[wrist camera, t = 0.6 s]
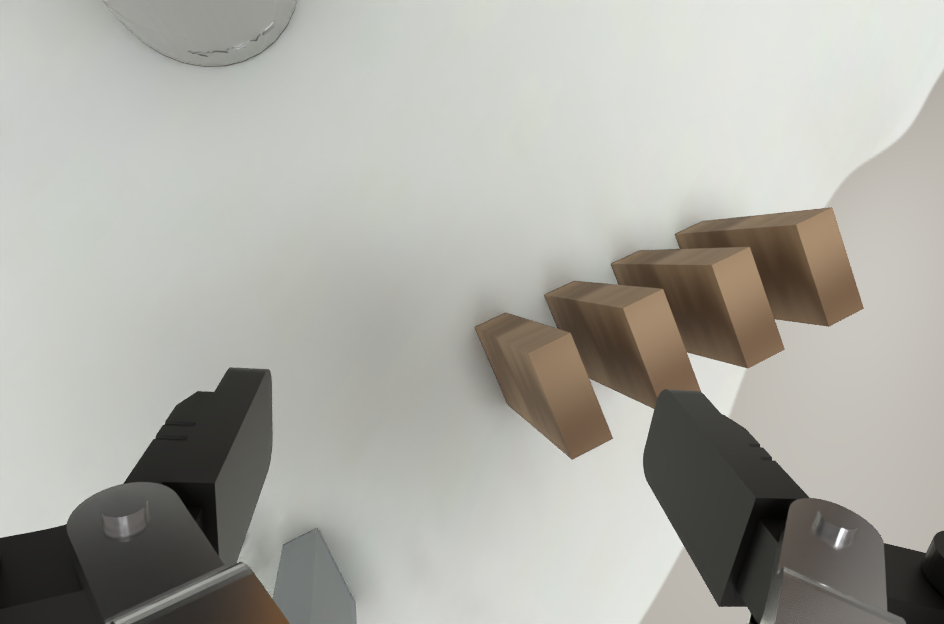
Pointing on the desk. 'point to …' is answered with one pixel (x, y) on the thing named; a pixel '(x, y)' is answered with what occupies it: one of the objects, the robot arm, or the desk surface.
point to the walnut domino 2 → (624, 338)
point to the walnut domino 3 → (710, 300)
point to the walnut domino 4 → (790, 261)
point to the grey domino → (312, 584)
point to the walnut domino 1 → (545, 381)
